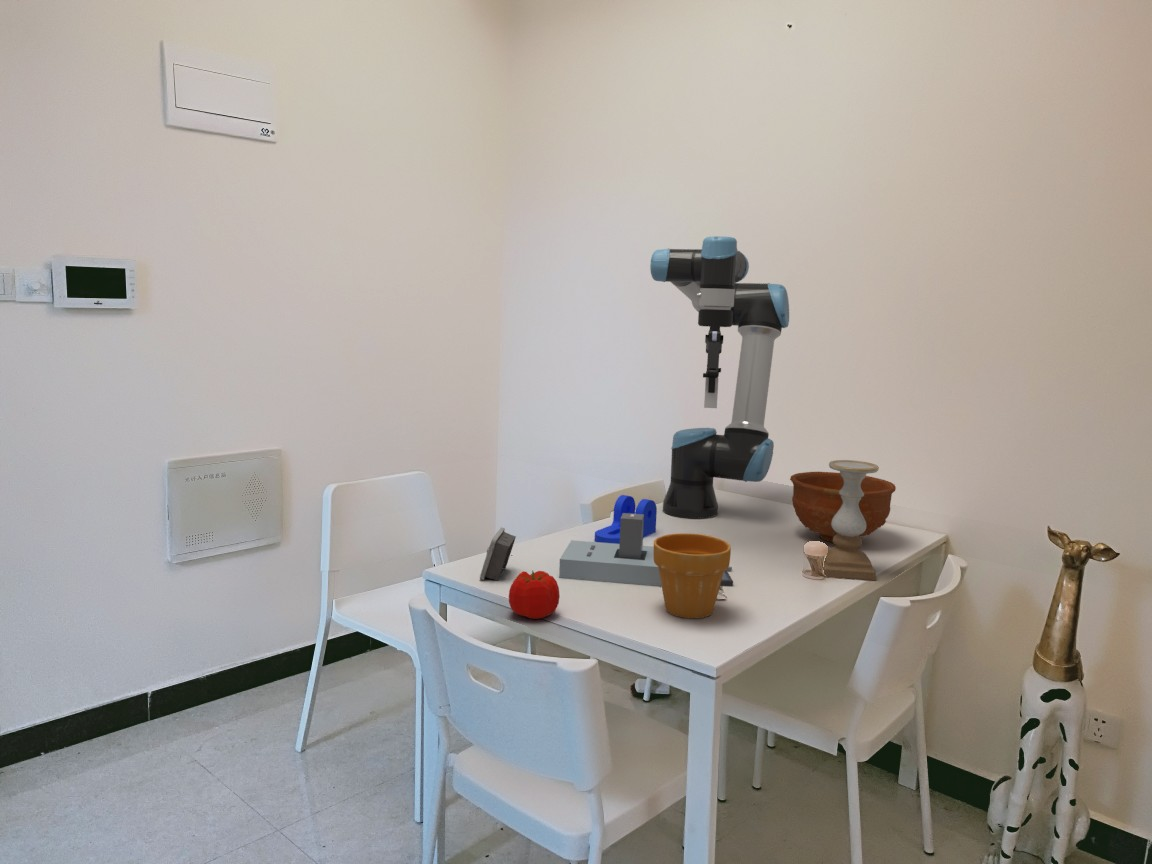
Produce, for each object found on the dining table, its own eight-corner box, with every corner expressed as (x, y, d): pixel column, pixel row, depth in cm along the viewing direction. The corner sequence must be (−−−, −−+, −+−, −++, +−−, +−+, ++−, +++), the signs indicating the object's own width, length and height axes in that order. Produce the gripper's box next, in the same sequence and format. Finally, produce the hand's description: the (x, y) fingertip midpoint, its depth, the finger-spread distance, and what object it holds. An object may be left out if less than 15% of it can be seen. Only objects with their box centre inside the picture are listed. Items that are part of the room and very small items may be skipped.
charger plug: (620, 566, 179) (622, 512, 177) (641, 568, 178) (644, 513, 176) (618, 573, 174) (620, 517, 173) (639, 575, 174) (642, 518, 172)
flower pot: (635, 608, 156) (638, 541, 154) (682, 591, 166) (685, 528, 164) (695, 631, 146) (699, 560, 144) (741, 611, 156) (746, 545, 154)
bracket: (627, 526, 213) (628, 492, 211) (655, 532, 208) (657, 497, 207) (587, 542, 198) (589, 505, 197) (617, 549, 193) (618, 511, 192)
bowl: (782, 546, 199) (786, 485, 197) (790, 521, 222) (794, 466, 220) (892, 559, 191) (897, 496, 189) (888, 532, 215) (893, 475, 212)
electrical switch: (488, 566, 178) (493, 525, 176) (512, 570, 177) (517, 529, 175) (478, 581, 168) (483, 537, 167) (503, 585, 168) (508, 541, 166)
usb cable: (663, 562, 184) (663, 558, 184) (664, 561, 185) (664, 557, 185) (731, 571, 179) (731, 567, 179) (731, 570, 180) (732, 566, 180)
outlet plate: (570, 557, 185) (571, 539, 185) (669, 565, 182) (670, 546, 181) (559, 577, 172) (559, 558, 171) (665, 586, 168) (666, 566, 168)
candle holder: (822, 577, 177) (831, 467, 173) (815, 561, 188) (823, 458, 184) (876, 581, 176) (886, 470, 172) (865, 565, 186) (874, 460, 183)
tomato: (544, 602, 157) (545, 564, 156) (566, 618, 150) (567, 579, 149) (499, 610, 153) (499, 571, 152) (519, 627, 145) (520, 586, 144)
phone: (660, 573, 176) (661, 568, 176) (726, 574, 177) (726, 569, 177) (664, 584, 170) (664, 579, 169) (732, 586, 170) (733, 580, 170)
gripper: (699, 307, 195) (695, 397, 199) (697, 308, 171) (692, 410, 174) (732, 308, 194) (726, 398, 198) (734, 309, 170) (728, 412, 173)
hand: (710, 404), depth 186 cm, fingers open, 13 cm apart
